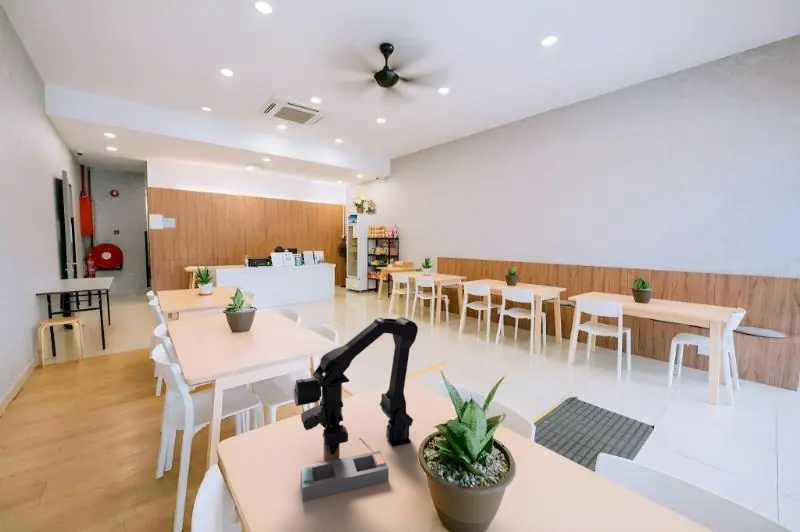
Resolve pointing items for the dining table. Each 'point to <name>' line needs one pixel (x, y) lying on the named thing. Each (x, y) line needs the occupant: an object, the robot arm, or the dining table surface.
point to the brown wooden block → (328, 455)
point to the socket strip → (343, 475)
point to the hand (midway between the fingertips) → (331, 449)
